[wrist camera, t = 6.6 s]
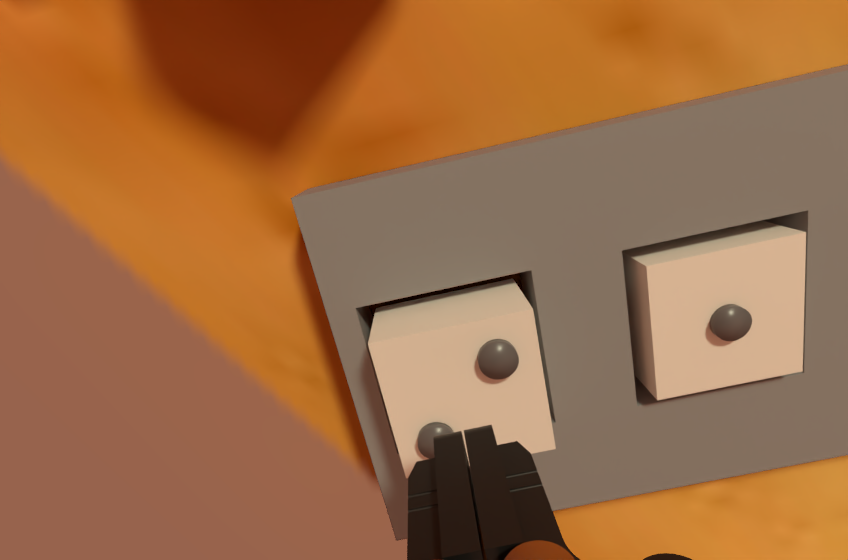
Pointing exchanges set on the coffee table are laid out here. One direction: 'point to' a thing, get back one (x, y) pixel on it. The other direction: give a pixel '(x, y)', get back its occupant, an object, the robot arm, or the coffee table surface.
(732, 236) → the one pip tile
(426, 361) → the two pip tile
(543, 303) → the button board
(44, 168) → the coffee table surface
